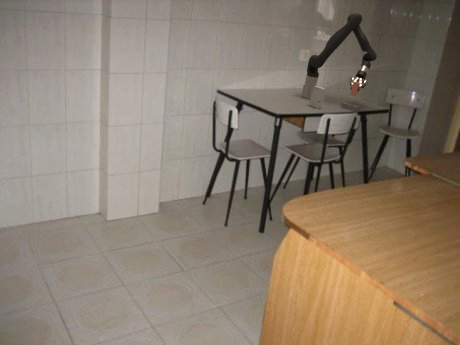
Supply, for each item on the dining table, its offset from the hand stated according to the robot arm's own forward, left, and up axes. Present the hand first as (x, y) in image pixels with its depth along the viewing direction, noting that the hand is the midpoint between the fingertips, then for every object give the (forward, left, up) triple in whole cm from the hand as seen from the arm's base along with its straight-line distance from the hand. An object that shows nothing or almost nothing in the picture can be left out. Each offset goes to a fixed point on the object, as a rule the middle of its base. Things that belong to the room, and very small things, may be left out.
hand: (354, 90), depth 355 cm
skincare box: (-31, +7, -15) cm, 35 cm away
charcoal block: (+2, +1, -15) cm, 15 cm away
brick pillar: (+2, +1, -4) cm, 5 cm away
